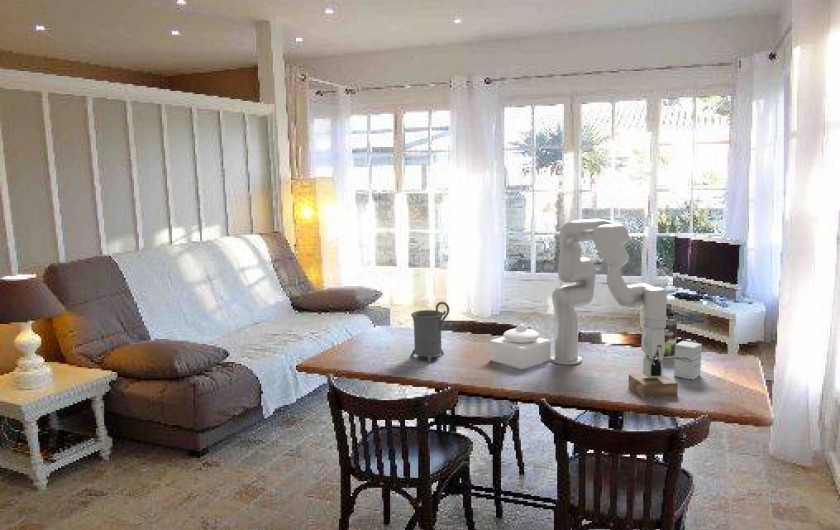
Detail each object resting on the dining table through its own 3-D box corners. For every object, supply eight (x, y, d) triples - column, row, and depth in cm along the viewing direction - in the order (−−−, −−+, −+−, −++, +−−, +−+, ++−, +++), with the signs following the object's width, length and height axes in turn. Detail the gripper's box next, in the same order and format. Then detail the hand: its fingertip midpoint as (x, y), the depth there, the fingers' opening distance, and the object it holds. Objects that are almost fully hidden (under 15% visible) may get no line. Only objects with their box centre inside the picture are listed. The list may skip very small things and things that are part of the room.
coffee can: (677, 359, 262) (679, 325, 260) (651, 357, 264) (652, 324, 262) (674, 352, 272) (675, 319, 269) (648, 351, 274) (649, 319, 272)
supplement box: (673, 376, 240) (674, 344, 238) (681, 371, 245) (682, 340, 243) (693, 380, 235) (694, 347, 233) (701, 375, 240) (702, 343, 238)
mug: (402, 360, 270) (400, 302, 266) (418, 351, 283) (416, 296, 279) (443, 365, 262) (441, 305, 258) (457, 355, 275) (456, 298, 271)
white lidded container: (522, 370, 253) (522, 331, 251) (489, 360, 267) (489, 323, 264) (550, 361, 264) (550, 323, 262) (517, 352, 278) (517, 316, 276)
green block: (643, 373, 227) (643, 357, 226) (656, 372, 227) (657, 356, 226) (648, 377, 222) (648, 361, 221) (662, 377, 222) (662, 360, 221)
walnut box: (628, 387, 230) (628, 374, 229) (659, 385, 232) (660, 372, 231) (644, 399, 218) (645, 385, 218) (677, 396, 220) (677, 383, 219)
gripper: (634, 317, 230) (633, 366, 232) (652, 329, 213) (651, 381, 216) (655, 317, 230) (654, 365, 233) (675, 328, 213) (673, 380, 216)
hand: (652, 372), depth 224 cm, fingers closed on green block, 4 cm apart
